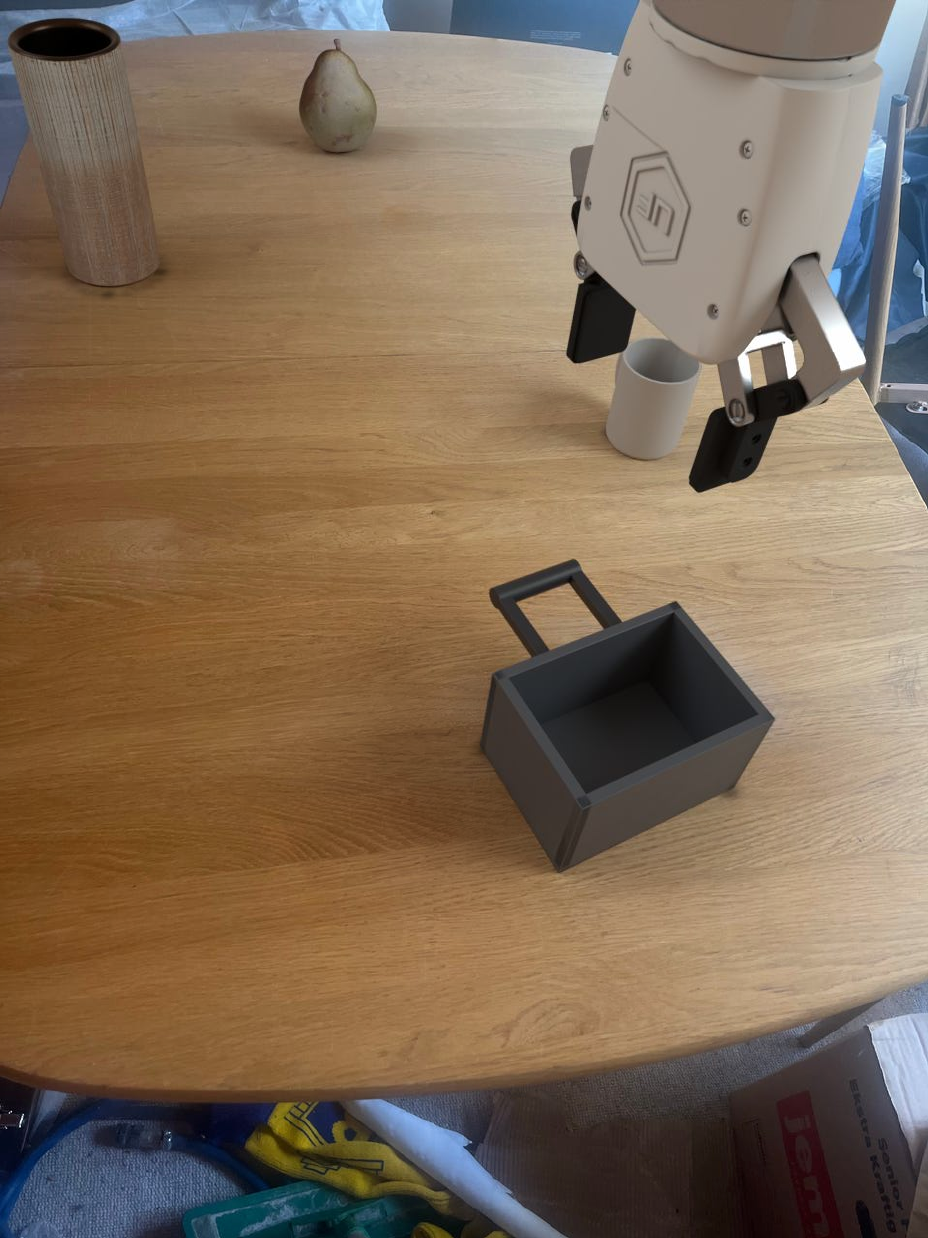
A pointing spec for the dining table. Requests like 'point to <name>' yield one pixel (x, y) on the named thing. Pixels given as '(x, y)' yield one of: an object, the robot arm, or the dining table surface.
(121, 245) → the planter
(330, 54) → the fruit
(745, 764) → the grey tool caddy
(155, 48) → the dining table surface
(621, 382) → the cup
